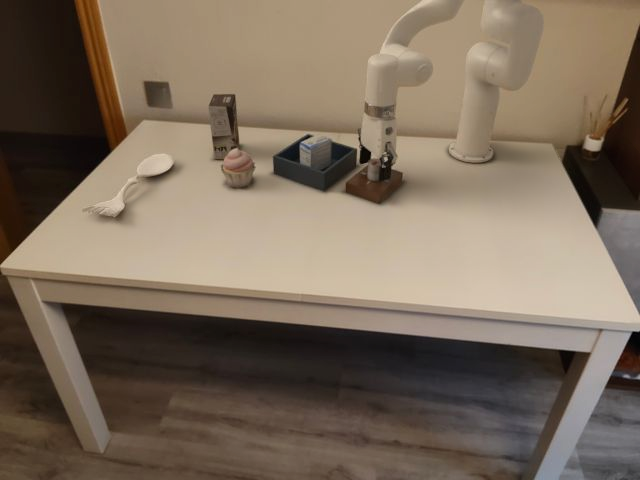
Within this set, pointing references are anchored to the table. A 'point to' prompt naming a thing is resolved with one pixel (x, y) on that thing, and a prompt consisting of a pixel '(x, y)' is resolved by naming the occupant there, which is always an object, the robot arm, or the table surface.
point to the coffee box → (223, 124)
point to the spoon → (145, 169)
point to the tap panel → (372, 185)
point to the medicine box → (316, 152)
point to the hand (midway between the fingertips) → (374, 171)
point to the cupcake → (238, 168)
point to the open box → (291, 168)
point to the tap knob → (373, 169)
